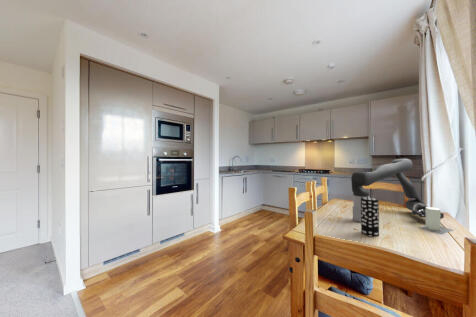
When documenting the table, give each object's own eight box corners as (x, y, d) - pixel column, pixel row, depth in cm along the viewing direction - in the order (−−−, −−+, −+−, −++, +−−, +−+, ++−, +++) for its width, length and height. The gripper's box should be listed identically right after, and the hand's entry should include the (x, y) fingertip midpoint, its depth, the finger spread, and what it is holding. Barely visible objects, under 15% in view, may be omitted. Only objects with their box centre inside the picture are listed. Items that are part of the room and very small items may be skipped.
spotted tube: (379, 237, 103) (379, 200, 103) (361, 234, 108) (360, 199, 108) (378, 232, 111) (377, 198, 110) (361, 230, 115) (360, 196, 115)
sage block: (440, 230, 110) (440, 210, 110) (428, 229, 113) (428, 209, 113) (437, 228, 115) (436, 208, 114) (425, 226, 117) (425, 207, 117)
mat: (441, 235, 106) (441, 234, 106) (418, 228, 115) (418, 228, 115) (454, 230, 111) (454, 230, 111) (431, 225, 120) (431, 224, 120)
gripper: (408, 203, 134) (415, 208, 120) (436, 205, 127) (447, 211, 113) (408, 214, 134) (415, 220, 120) (436, 216, 127) (447, 224, 113)
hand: (430, 216), depth 116 cm, fingers open, 8 cm apart
